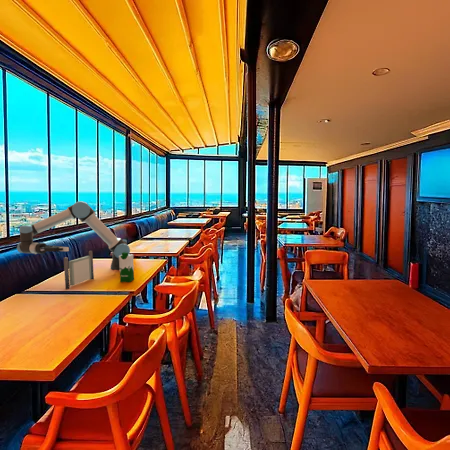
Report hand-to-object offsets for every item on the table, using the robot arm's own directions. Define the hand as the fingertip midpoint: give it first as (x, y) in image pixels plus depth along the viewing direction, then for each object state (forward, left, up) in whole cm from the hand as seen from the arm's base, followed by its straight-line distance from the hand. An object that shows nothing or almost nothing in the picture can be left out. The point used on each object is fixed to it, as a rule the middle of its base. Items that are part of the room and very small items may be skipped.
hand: (68, 249), depth 227 cm
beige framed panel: (-5, +7, -22) cm, 24 cm away
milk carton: (-29, +25, -23) cm, 45 cm away
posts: (-4, +8, -23) cm, 25 cm away
